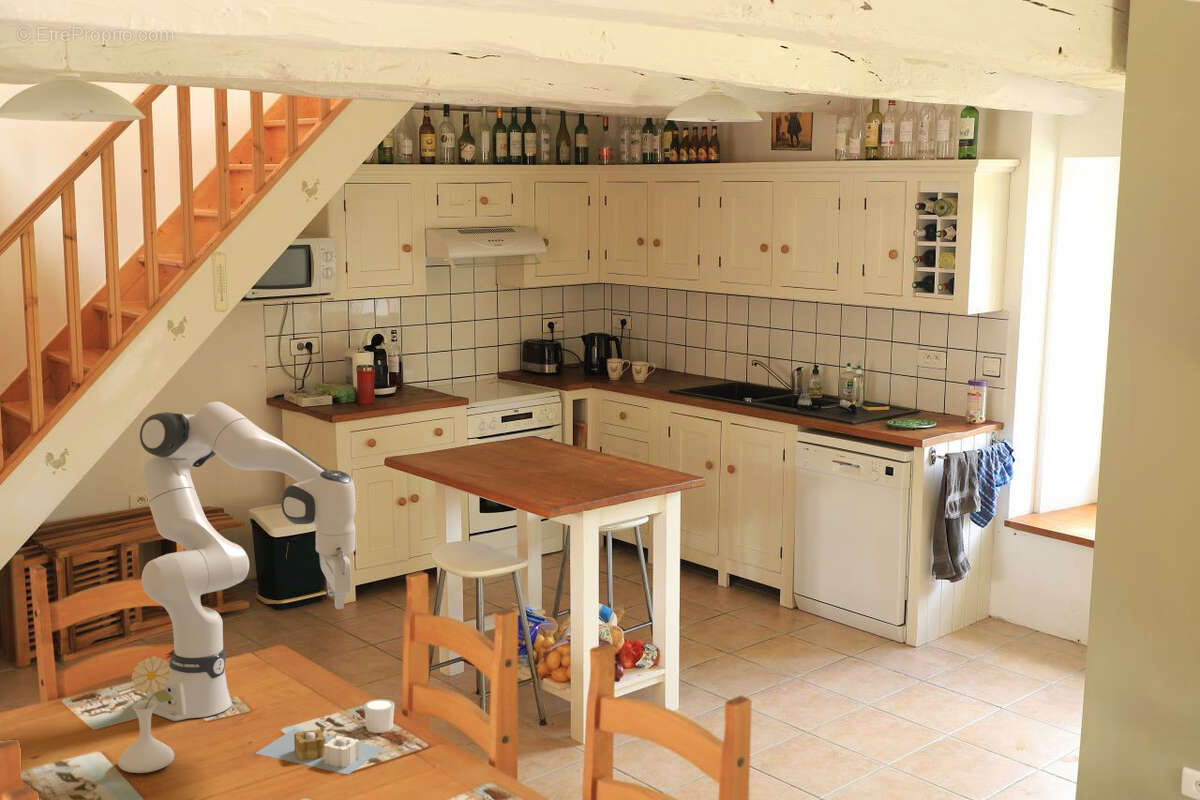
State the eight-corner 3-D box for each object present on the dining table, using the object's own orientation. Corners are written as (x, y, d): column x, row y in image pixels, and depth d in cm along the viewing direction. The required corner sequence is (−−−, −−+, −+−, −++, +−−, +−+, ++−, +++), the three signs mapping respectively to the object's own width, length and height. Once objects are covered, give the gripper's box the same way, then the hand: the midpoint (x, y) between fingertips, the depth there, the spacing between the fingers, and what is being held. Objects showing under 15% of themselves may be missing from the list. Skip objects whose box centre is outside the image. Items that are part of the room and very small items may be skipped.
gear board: (254, 759, 259) (254, 733, 258) (294, 735, 272) (293, 710, 271) (348, 781, 250) (348, 754, 249) (384, 754, 263) (384, 728, 262)
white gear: (327, 770, 252) (327, 752, 251) (321, 756, 258) (321, 738, 258) (361, 764, 255) (361, 747, 254) (355, 751, 261) (355, 733, 261)
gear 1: (286, 756, 257) (285, 739, 257) (306, 743, 264) (305, 726, 264) (314, 763, 255) (313, 745, 254) (333, 749, 261) (333, 732, 261)
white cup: (388, 741, 270) (387, 711, 269) (359, 738, 271) (359, 708, 270) (399, 729, 277) (398, 700, 276) (371, 726, 278) (371, 697, 277)
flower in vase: (105, 772, 252) (101, 659, 248) (143, 751, 262) (139, 642, 259) (156, 783, 247) (152, 668, 244) (192, 761, 258) (189, 650, 254)
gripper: (358, 554, 261) (358, 614, 263) (341, 530, 280) (341, 586, 282) (329, 556, 259) (329, 617, 261) (314, 532, 278) (314, 589, 280)
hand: (335, 601), depth 272 cm, fingers open, 8 cm apart
